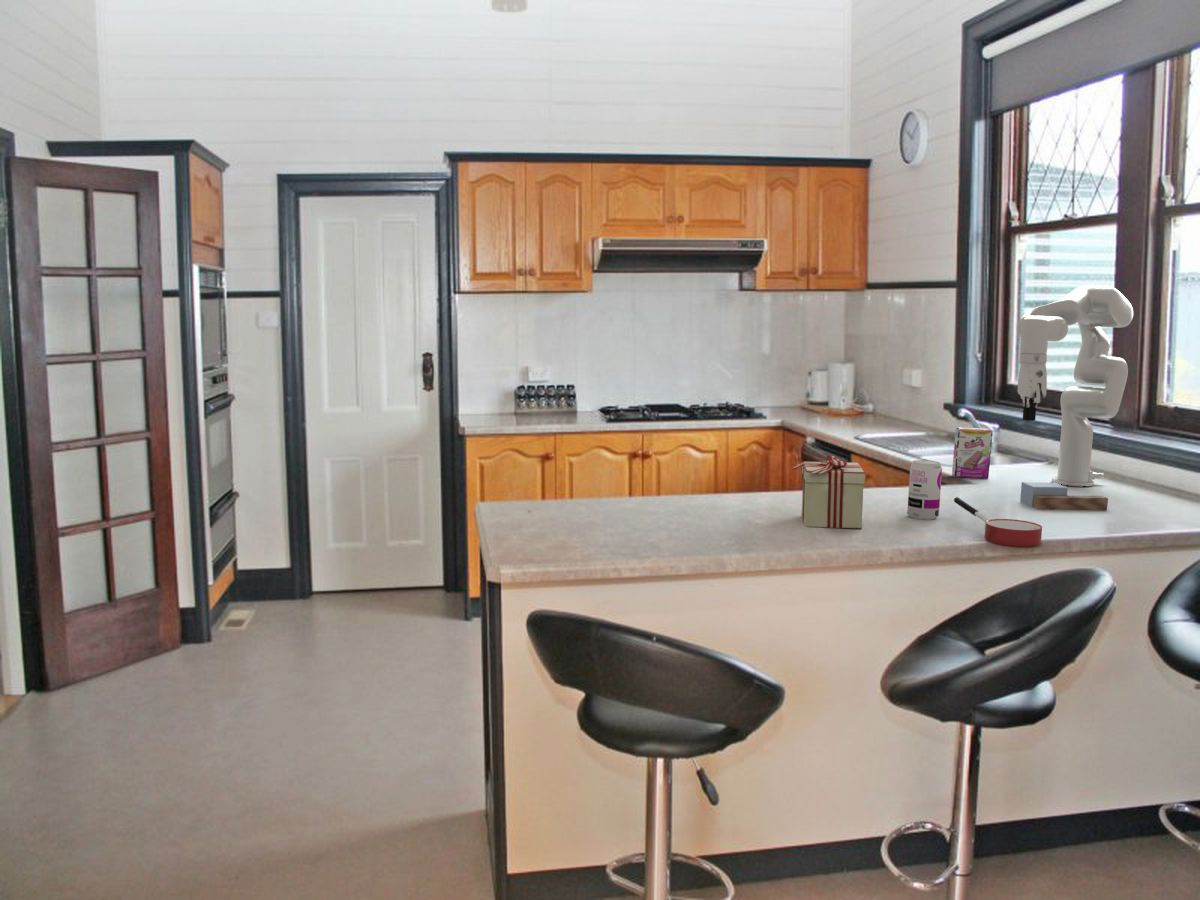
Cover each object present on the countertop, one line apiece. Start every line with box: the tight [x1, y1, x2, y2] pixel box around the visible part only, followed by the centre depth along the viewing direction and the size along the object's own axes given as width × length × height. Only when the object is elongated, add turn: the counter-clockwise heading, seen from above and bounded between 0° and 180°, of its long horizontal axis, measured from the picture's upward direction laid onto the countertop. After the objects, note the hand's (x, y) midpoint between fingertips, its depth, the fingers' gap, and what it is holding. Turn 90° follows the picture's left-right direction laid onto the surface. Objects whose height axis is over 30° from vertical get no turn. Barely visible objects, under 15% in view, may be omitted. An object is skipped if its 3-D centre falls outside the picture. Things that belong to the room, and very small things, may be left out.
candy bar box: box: [951, 426, 994, 480], centre depth 362 cm, size 11×5×16 cm, turn 84°
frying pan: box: [953, 496, 1043, 548], centre depth 276 cm, size 32×13×6 cm, turn 19°
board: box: [1032, 494, 1109, 511], centre depth 312 cm, size 20×4×4 cm, turn 93°
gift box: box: [790, 454, 866, 530], centre depth 283 cm, size 17×18×17 cm
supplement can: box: [906, 459, 943, 521], centre depth 294 cm, size 8×8×15 cm
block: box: [1019, 481, 1069, 508], centre depth 317 cm, size 10×8×6 cm
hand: (1028, 420), depth 329 cm, fingers closed
